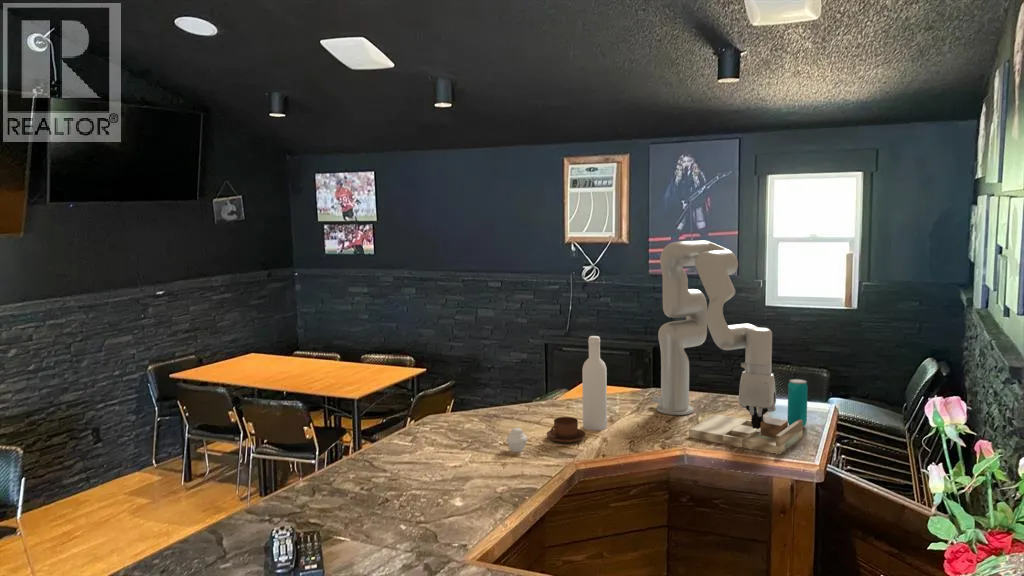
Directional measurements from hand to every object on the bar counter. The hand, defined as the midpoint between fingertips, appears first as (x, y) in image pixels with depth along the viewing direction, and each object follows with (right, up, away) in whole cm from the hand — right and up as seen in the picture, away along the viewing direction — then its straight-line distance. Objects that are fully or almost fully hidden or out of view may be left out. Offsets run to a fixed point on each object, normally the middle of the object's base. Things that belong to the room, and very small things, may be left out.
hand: (757, 427), depth 220 cm
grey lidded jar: (-73, -6, -6) cm, 74 cm away
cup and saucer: (-58, -5, +4) cm, 58 cm away
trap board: (-3, -4, +3) cm, 5 cm away
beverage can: (+17, -2, +13) cm, 22 cm away
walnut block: (+4, -2, -3) cm, 5 cm away
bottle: (-48, -3, +16) cm, 50 cm away
